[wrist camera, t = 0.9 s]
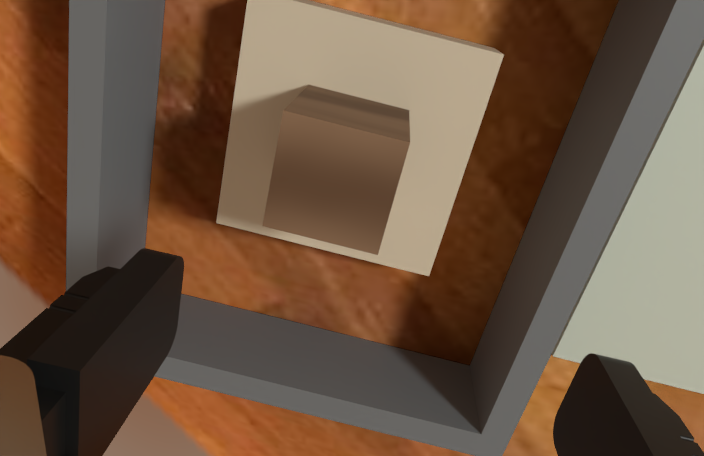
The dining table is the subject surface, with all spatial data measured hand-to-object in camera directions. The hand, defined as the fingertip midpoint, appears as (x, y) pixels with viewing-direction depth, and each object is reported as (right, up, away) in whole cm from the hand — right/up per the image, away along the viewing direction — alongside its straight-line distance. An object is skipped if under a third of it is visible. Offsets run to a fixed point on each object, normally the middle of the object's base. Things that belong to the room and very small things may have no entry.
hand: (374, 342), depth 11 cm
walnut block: (-1, +6, +17) cm, 18 cm away
